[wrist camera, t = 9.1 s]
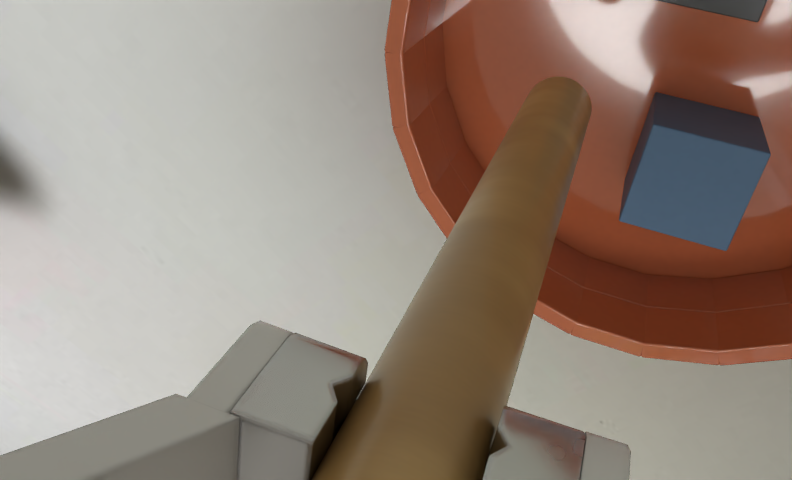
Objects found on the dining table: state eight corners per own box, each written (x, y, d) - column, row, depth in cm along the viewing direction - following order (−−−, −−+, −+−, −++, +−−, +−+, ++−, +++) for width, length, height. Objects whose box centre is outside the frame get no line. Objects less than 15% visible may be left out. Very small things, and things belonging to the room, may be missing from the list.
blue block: (760, 116, 28) (771, 153, 25) (721, 206, 30) (727, 252, 27) (655, 91, 29) (652, 124, 26) (624, 180, 31) (618, 221, 28)
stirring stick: (600, 84, 19) (366, 895, 4) (581, 146, 20) (336, 988, 5) (534, 68, 20) (113, 767, 5) (519, 129, 21) (125, 877, 6)
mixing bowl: (1226, -243, 20) (1405, -270, 15) (862, 344, 32) (897, 439, 27) (491, -339, 25) (445, -385, 20) (397, 207, 36) (353, 266, 31)
